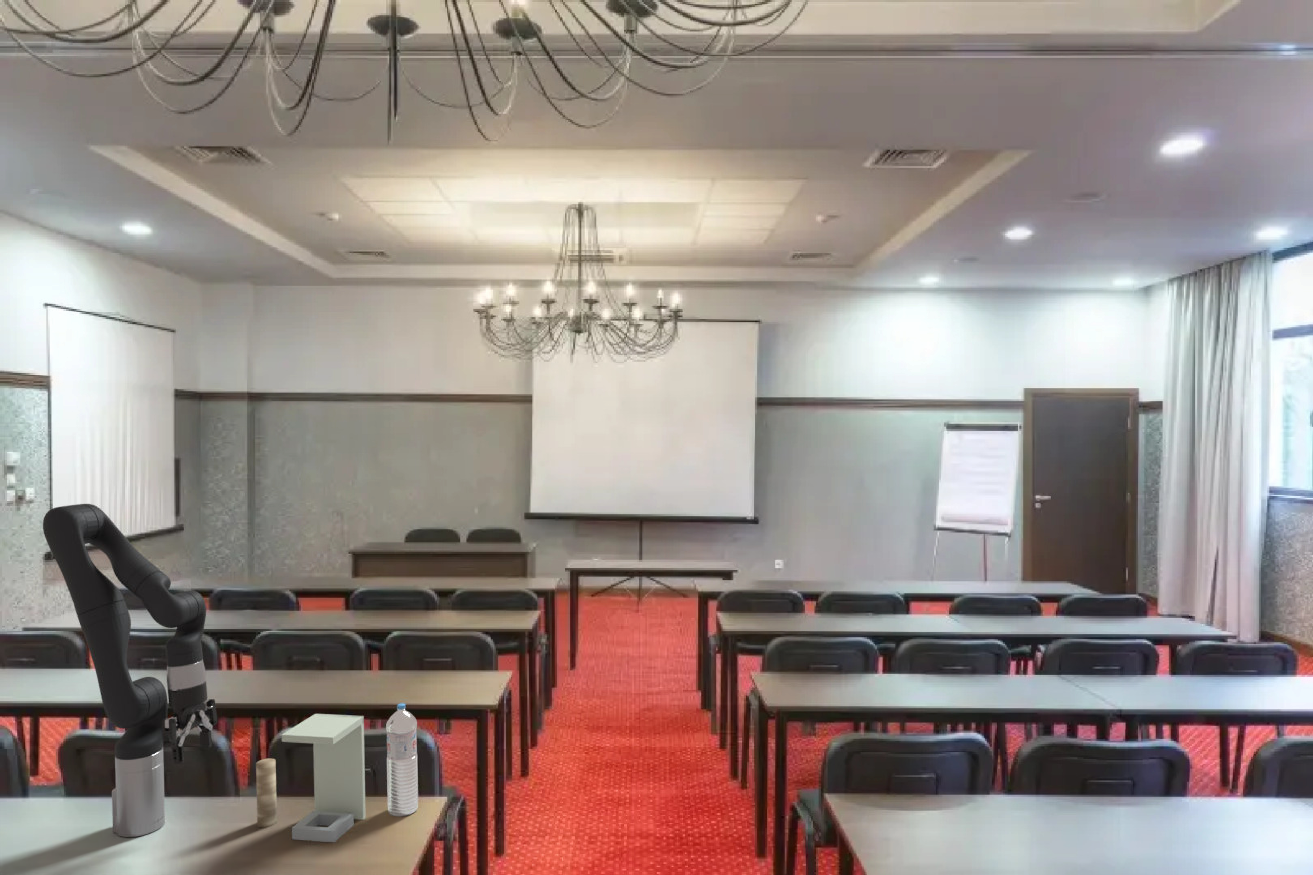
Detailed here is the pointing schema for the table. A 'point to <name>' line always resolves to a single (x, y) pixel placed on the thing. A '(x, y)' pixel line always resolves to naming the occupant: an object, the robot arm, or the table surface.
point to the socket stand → (332, 774)
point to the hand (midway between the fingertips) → (193, 755)
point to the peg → (266, 792)
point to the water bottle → (402, 763)
